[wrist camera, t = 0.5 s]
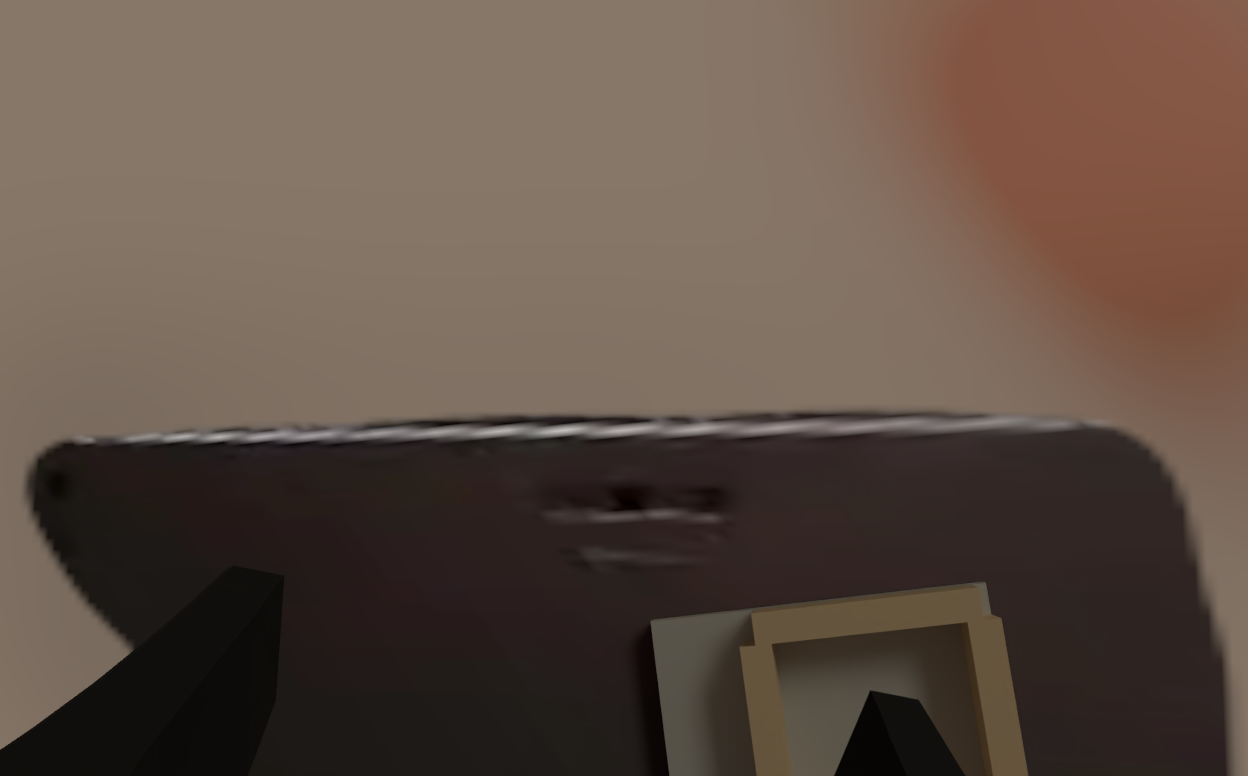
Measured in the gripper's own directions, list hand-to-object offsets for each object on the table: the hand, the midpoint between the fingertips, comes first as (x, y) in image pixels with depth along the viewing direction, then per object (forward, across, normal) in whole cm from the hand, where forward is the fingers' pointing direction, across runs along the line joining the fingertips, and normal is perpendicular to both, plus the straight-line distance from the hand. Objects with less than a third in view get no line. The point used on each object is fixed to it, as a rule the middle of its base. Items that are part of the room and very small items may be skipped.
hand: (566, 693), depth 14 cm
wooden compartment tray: (+16, -11, +18) cm, 26 cm away
